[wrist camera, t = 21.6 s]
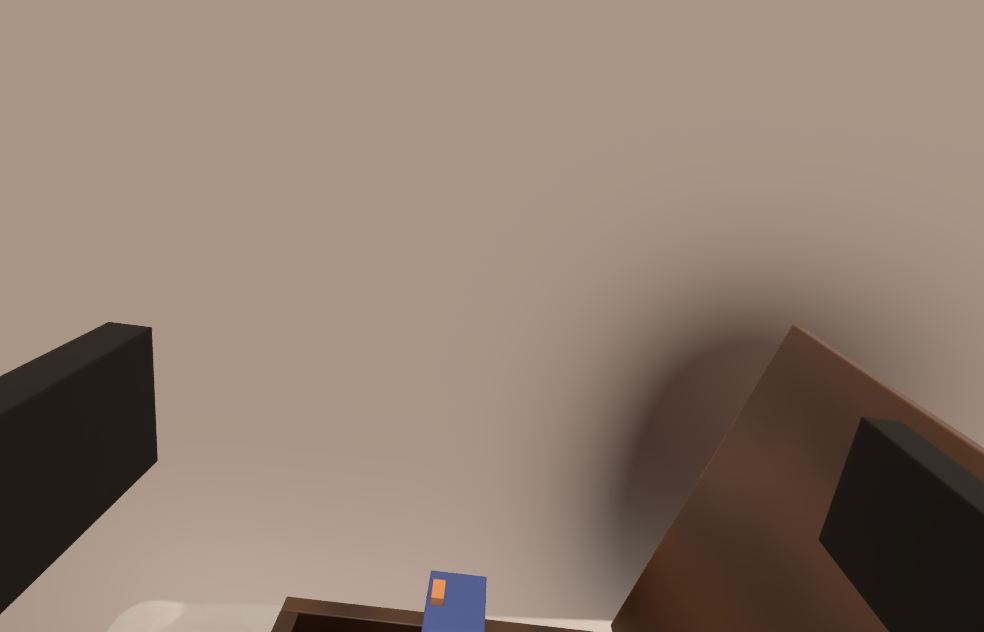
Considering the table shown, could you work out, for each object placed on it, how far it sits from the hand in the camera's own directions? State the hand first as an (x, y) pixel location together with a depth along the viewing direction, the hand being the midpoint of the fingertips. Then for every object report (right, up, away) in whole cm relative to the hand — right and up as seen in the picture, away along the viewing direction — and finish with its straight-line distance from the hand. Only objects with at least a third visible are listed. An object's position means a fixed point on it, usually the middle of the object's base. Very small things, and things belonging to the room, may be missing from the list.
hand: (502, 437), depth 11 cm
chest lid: (+10, -8, +13) cm, 18 cm away
